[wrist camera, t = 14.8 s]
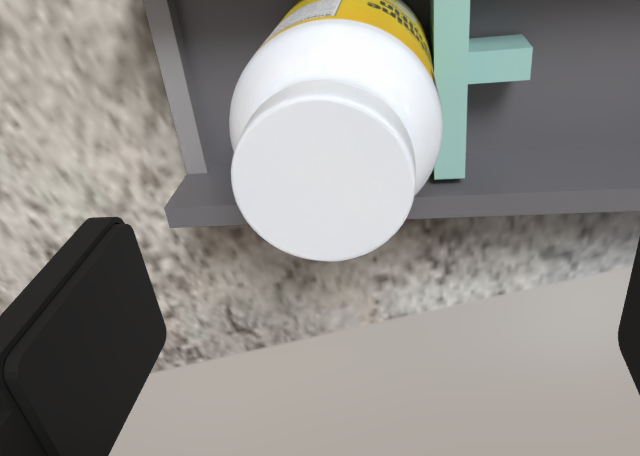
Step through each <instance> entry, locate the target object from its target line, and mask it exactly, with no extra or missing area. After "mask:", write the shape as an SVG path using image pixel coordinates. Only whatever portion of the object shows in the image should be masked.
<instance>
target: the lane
mask: <svg viewBox="0 0 640 456" xmlns="http://www.w3.org/2000/svg"><path fill="white" fill-rule="evenodd" d="M298 1H299V0H143V4H144V7H145V11H146V15H147V19H148V23H149V27H150V31H151V35H152V39H153V43H154V47H155V50H156V54H157V58H158V62H159V66H160V70H161V74H162V78H163V82H164V86H165V89H166V93H167V97H168V101H169V105H170V109H171V113H172V117H173V121H174V125H175V128H176V132H177V136H178V140H179V144H180V148H181V152H182V156H183V160H184V164H185V168H186V171H187V175H186V176H185V178H184V179H183V181H182V182H181V184H180V185H179V187H178V188H177V190H176V191H175V193H174V194H173V196H172V197H171V199H170V200H169V202H168V203H167V205H166V206H165V208H164V209H165V212H166V216H167V219H168V223H169V226H170V228H179V227H207V226H235V225H249V224H248V222H247V221H246V220H245V218H244V217H243V215H242V213H241V211H240V209H239V207H238V205H237V203H236V200H235V197H234V194H233V190H232V184H231V164H232V159H233V154H234V151H233V148H232V144H231V139H230V128H229V116H230V106H231V101H232V97H233V93H234V90H235V87H236V84H237V82H238V80H239V78H240V76H241V74H242V72H243V70H244V69H245V67H246V66H247V64H248V63H249V61H250V60H251V58H252V57H253V56H254V54H255V53H256V51H257V50H258V49H259V48H260V47H261V45H262V44H263V43H264V42H265V40H266V39H267V38H268V37H269V36H270V34H271V33H272V32H273V31H274V29H275V28H276V27H277V26H278V24H279V23H280V22H281V21H282V19H283V18H284V17H285V15H286V14H287V13H288V12H289V10H290V9H291V8H292V7H293V6H294V5H295V4H296V3H297V2H298ZM404 1H405V2H406V3H407V4H408V5H409V6H410V7H411V8H412V10H413V11H414V12H415V14H416V15H417V17H418V18H419V20H420V22H421V24H422V26H423V28H424V31H425V34H426V36H427V40H428V44H429V49H430V32H429V0H404ZM519 34H523V36H524V37H525V38H526V39H527V41H528V42H529V43H530V44H531V46H532V47H533V52H532V64H531V75H530V80H521V81H507V82H493V83H478V84H468V92H467V126H466V160H465V178H458V179H436V180H434V173H433V171H432V173H431V175H430V176H429V178H428V180H427V182H426V183H425V184H424V186H423V187H422V188H421V190H420V191H419V192H418V193H417V194H416V195H415V196H414V200H413V203H412V207H411V209H410V211H409V214H408V216H407V218H406V219H430V218H458V217H486V216H514V215H542V214H569V213H597V212H625V211H640V0H470V24H469V39H470V38H482V37H494V36H506V35H519Z"/></svg>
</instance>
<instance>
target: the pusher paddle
mask: <svg viewBox="0 0 640 456" xmlns="http://www.w3.org/2000/svg"><path fill="white" fill-rule="evenodd" d="M469 24H470V0H429V32H430V54H431V59H432V65H433V70H434V75H435V80H436V85H437V90H438V94H439V98H440V103H441V109H442V117H443V135H442V143H441V148H440V152H439V156H438V159H437V162H436V164H435V167H434V169H433V173H434V180H436V179H458V178H465V160H466V126H467V92H468V84H478V83H493V82H507V81H521V80H530V75H531V64H532V52H533V47H532V46H531V44H530V43H529V42H528V41H527V39H526V38H525V37H524V36H523V34H519V35H506V36H494V37H482V38H470V39H469Z"/></svg>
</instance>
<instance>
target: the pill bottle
mask: <svg viewBox="0 0 640 456" xmlns="http://www.w3.org/2000/svg"><path fill="white" fill-rule="evenodd" d="M229 128H230V139H231V144H232V148H233V151H234V154H233V159H232V164H231V184H232V190H233V194H234V197H235V200H236V203H237V205H238V207H239V209H240V211H241V213H242V215H243V217H244V218H245V220H246V221H247V222H248V224H249V225H250V226H251V227H252V229H253V230H254V231H255V232H256V233H257V234H258V235H259V236H261V237H262V238H263V239H264V240H266V241H267V242H268V243H270V244H271V245H273V246H274V247H276V248H277V249H279V250H281V251H283V252H285V253H288V254H291V255H294V256H296V257H300V258H304V259H309V260H316V261H326V262H327V261H342V260H348V259H352V258H356V257H359V256H362V255H365V254H367V253H369V252H371V251H373V250H375V249H377V248H378V247H380V246H382V245H383V244H384V243H386V242H387V241H388V240H389V239H390V238H391V237H392V236H393V235H394V234H395V233H396V232H397V231H398V230H399V228H400V227H401V226H402V225H403V223H404V221H405V220H406V218H407V216H408V214H409V211H410V209H411V207H412V203H413V200H414V196H415V195H416V194H417V193H418V192H419V191H420V190H421V188H422V187H423V186H424V184H425V183H426V182H427V180H428V178H429V176H430V175H431V173H432V171H433V169H434V167H435V164H436V162H437V159H438V156H439V152H440V148H441V143H442V135H443V117H442V109H441V103H440V98H439V94H438V90H437V85H436V80H435V75H434V70H433V65H432V59H431V54H430V49H429V44H428V40H427V36H426V34H425V31H424V28H423V26H422V24H421V22H420V20H419V18H418V17H417V15H416V14H415V12H414V11H413V10H412V8H411V7H410V6H409V5H408V4H407V3H406V2H405V1H404V0H299V1H298V2H297V3H296V4H295V5H294V6H293V7H292V8H291V9H290V10H289V12H288V13H287V14H286V15H285V17H284V18H283V19H282V21H281V22H280V23H279V24H278V26H277V27H276V28H275V29H274V31H273V32H272V33H271V34H270V36H269V37H268V38H267V39H266V40H265V42H264V43H263V44H262V45H261V47H260V48H259V49H258V50H257V51H256V53H255V54H254V56H253V57H252V58H251V60H250V61H249V63H248V64H247V66H246V67H245V69H244V70H243V72H242V74H241V76H240V78H239V80H238V82H237V84H236V87H235V90H234V93H233V97H232V101H231V106H230V116H229Z"/></svg>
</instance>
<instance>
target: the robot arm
mask: <svg viewBox="0 0 640 456" xmlns="http://www.w3.org/2000/svg"><path fill="white" fill-rule="evenodd" d="M165 340H166V326H165V323H164V320H163V317H162V314H161V311H160V308H159V305H158V302H157V299H156V296H155V293H154V290H153V287H152V284H151V281H150V278H149V275H148V272H147V269H146V266H145V263H144V260H143V257H142V254H141V252H140V249H139V246H138V243H137V240H136V237H135V234H134V231H133V229H132V227H131V226H130V225H128V224H125V223H124V222H123V220H122V219H121V218H119V217H99V218H89V219H87V220H86V221H85V222H84V223H83V224H82V225H81V226H80V227H79V229H78V230H77V231H76V232H75V233H74V234H73V235H72V236H71V238H70V239H69V240H68V241H67V242H66V243H65V244H64V245H63V246H62V248H61V249H60V250H59V251H58V252H57V253H56V254H55V255H54V256H53V258H52V259H51V260H50V261H49V262H48V263H47V264H46V265H45V267H44V268H43V269H42V270H41V271H40V272H39V273H38V274H37V275H36V277H35V278H34V279H33V280H32V281H31V282H30V283H29V284H28V286H27V287H26V288H25V289H24V290H23V291H22V292H21V293H20V294H19V296H18V297H17V298H16V299H15V300H14V301H13V302H12V303H11V304H10V306H9V307H8V308H7V309H6V310H5V311H4V312H3V313H2V315H1V316H0V456H108V455H109V453H110V451H111V449H112V447H113V445H114V443H115V441H116V439H117V437H118V435H119V433H120V431H121V429H122V427H123V425H124V423H125V421H126V419H127V417H128V415H129V413H130V411H131V409H132V407H133V405H134V403H135V402H136V400H137V397H138V395H139V394H140V392H141V389H142V388H143V386H144V383H145V382H146V380H147V378H148V376H149V374H150V372H151V370H152V368H153V366H154V364H155V362H156V360H157V358H158V356H159V354H160V352H161V350H162V348H163V346H164V344H165ZM618 341H619V347H620V350H621V353H622V355H623V357H624V360H625V362H626V364H627V367H628V369H629V371H630V374H631V376H632V378H633V381H634V383H635V385H636V388H637V389H638V392H639V394H640V238H639V242H638V247H637V251H636V255H635V260H634V264H633V268H632V273H631V277H630V282H629V286H628V290H627V295H626V299H625V304H624V308H623V312H622V317H621V321H620V325H619V331H618Z"/></svg>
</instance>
